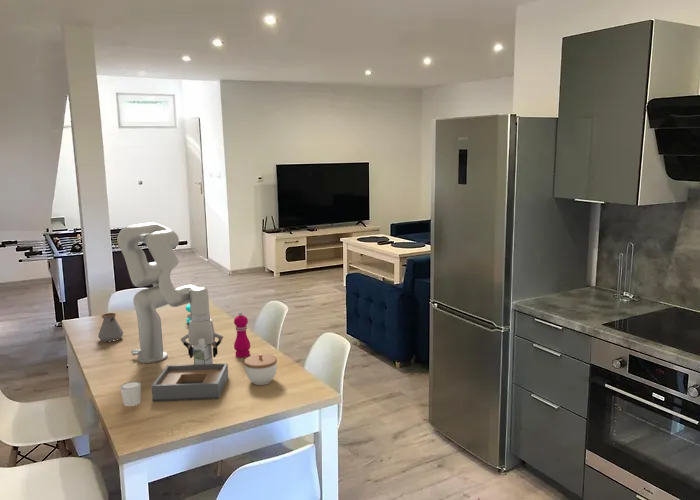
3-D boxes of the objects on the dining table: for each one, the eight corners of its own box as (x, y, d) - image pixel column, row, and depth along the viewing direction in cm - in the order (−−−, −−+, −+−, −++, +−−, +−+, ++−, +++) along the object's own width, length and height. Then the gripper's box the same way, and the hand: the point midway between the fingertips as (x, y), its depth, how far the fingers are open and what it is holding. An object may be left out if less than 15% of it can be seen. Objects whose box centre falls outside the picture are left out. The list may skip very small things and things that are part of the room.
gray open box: (152, 401, 200) (151, 385, 199) (168, 379, 219) (167, 365, 218) (218, 399, 200) (217, 383, 199) (228, 377, 220) (227, 363, 219)
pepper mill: (247, 358, 241) (244, 314, 237) (231, 357, 242) (229, 314, 239) (253, 352, 248) (251, 310, 244) (238, 352, 249) (236, 309, 246)
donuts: (188, 302, 299) (206, 302, 299) (189, 320, 301) (207, 319, 301) (183, 307, 289) (201, 307, 289) (184, 325, 291) (202, 325, 291)
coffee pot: (97, 338, 272) (94, 309, 269) (122, 334, 278) (119, 306, 275) (102, 351, 254) (99, 320, 251) (128, 346, 259) (125, 316, 257)
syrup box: (213, 367, 231) (211, 334, 229) (205, 372, 226) (203, 338, 224) (202, 365, 233) (199, 333, 231) (193, 370, 228) (191, 337, 225)
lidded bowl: (263, 390, 207) (262, 362, 205) (238, 383, 214) (237, 357, 212) (284, 378, 218) (283, 352, 216) (260, 372, 224) (259, 347, 223)
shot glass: (125, 399, 201) (123, 381, 200) (144, 398, 202) (143, 380, 201) (119, 408, 195) (117, 389, 194) (139, 407, 195) (137, 388, 194)
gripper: (176, 320, 222) (180, 360, 225) (219, 318, 222) (222, 358, 225) (181, 315, 229) (184, 354, 232) (223, 313, 230) (225, 352, 233)
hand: (203, 356), depth 229 cm, fingers open, 9 cm apart
